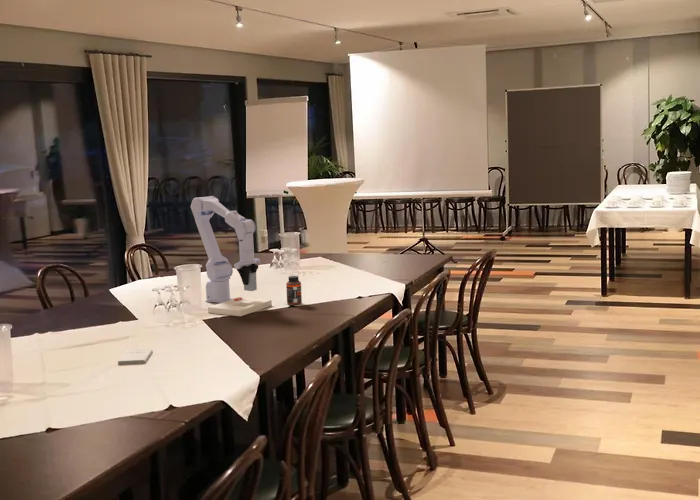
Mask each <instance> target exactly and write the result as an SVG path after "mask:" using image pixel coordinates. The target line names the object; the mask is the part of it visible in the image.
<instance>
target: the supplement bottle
mask: <svg viewBox="0 0 700 500" xmlns="http://www.w3.org/2000/svg"><path fill="white" fill-rule="evenodd" d="M285 287H286V303H287V305H289V306H298V305H301V304H302V303H303V301H302V300H303V298H302V283H301V281H300V279H299V275H289V276H288V281H286V286H285Z"/></svg>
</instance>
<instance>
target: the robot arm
mask: <svg viewBox="0 0 700 500" xmlns="http://www.w3.org/2000/svg"><path fill="white" fill-rule="evenodd" d="M190 209H191V212H192V216H193V218H194V221H195V224H196V227H197V230H198V233H199V235H200V238H201V241H202V244H203V247H204V249H205V252H206V255H207V257H208V260H207V262H206V264H205V268H206V275H207V278H208V280H207V282H206V284H205V294H206V296H205V297H206V299H205V302H209V303H216V304H219V303H222V302H226V301H229V300H232V299H235V298H234V297H231V291H230V280H231V277H232V275H233V271H234V270H236V271H237V272H238V274H239V276H240V279H241V281H242V284H243V285H242V286H244V285H248V283H249V272H250V271H252V272H255V273H256V274H257V272H258V271H257V270H258V269H259V264H261V259H260V258H259V257H258V258H257V257H256V258H255V248H254V247H255V246H254V233H255V232H256V229H257V226H256V223H255V221H254V220H253V219H249V218H246V217H244V216H242V215H241V214H239V213H238V211H237V210H230V209H228V208H227V207H225V205H223V204H222V203H221V202H220V200H219V199H218V198H217V197H215V195H210V196H202V197H201V196H199V197H194V198H193V199H192V201H191V204H190ZM214 214H217V215H219V216H221V217H222V218H223V219H224V222H225V223H226V224H227V225H228V226H230V227H231V228H233V229H234V232H235V233H236V235H237V237H236V238H237V240H238V246H239V247H238V250H239V261H238V262H236V263H234V264H233V266H234V267H233V266H232V264H231V263H230V262H229V260H228V259H229V258H227V257H225V256H224V255H223V254H222V252H221V250H220V247H219V245H218V241H217V239H216V236H215V234H214V230H213V228H212V225H211V223H210V219H211V218H212V217H213V216H214ZM233 268H234V269H233Z"/></svg>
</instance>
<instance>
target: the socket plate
mask: <svg viewBox="0 0 700 500" xmlns="http://www.w3.org/2000/svg"><path fill="white" fill-rule="evenodd" d="M268 307H272V299H265V298H264V299H263V298H253V297H242V296H238V297H235V298H234V299H232V300H229V301H226V302H222V303H216V304H213V305H210V306H207V313H208V314H217V315H218V314H219V315H226V316H232V317H233V316H234V317H242V316H246V315H249V314H252V313H254V312H257V311H260V310H263V309H266V308H268Z"/></svg>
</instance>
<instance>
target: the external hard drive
mask: <svg viewBox="0 0 700 500" xmlns="http://www.w3.org/2000/svg"><path fill="white" fill-rule="evenodd" d="M151 353H154V352H153V349H151V348H149V349H148V348H147V349H128V350H126V351H125V352H124V354H123V355H122V356H121V357H120V359H119V360H118V361H117V365H120V366H121V365H137V364H138V363H142V364H146V363H147V362H148V360H149V358H150V357H149V356H151V355H152V354H151ZM150 354H151V355H150ZM147 359H148V360H147ZM145 362H146V363H145ZM138 365H139V364H138Z"/></svg>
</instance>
